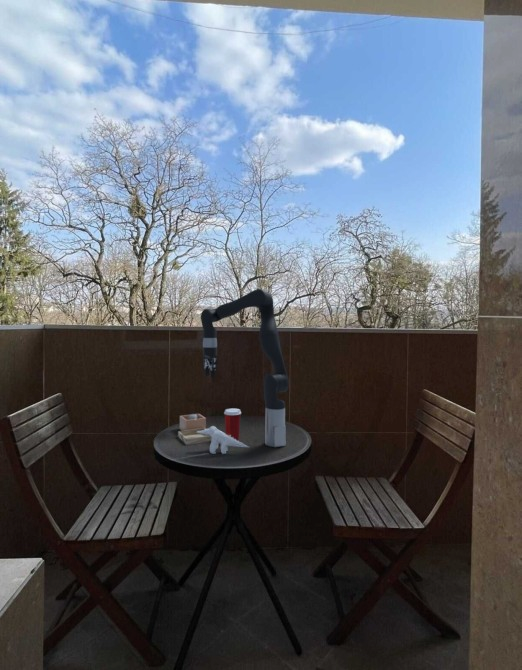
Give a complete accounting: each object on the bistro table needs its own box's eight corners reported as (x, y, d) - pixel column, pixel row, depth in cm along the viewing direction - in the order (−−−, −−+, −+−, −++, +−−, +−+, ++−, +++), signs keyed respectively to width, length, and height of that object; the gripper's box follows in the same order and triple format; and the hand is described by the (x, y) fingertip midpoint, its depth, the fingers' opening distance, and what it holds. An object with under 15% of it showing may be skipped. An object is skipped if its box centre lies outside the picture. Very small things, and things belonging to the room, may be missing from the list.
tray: (215, 442, 170) (215, 435, 170) (186, 447, 163) (186, 439, 163) (204, 434, 182) (204, 427, 182) (177, 438, 176) (177, 431, 176)
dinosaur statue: (197, 446, 161) (199, 422, 161) (249, 454, 159) (252, 429, 159) (192, 452, 155) (195, 426, 154) (247, 459, 152) (250, 434, 152)
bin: (205, 433, 185) (205, 418, 185) (185, 436, 180) (185, 420, 180) (198, 427, 194) (199, 413, 194) (179, 430, 189) (179, 415, 189)
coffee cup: (243, 439, 175) (243, 408, 175) (237, 444, 167) (238, 412, 167) (227, 437, 177) (227, 407, 177) (221, 443, 169) (221, 411, 169)
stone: (198, 423, 186) (198, 415, 186) (190, 424, 184) (190, 416, 184) (195, 421, 190) (195, 413, 190) (187, 422, 188) (187, 414, 187)
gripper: (221, 347, 188) (221, 377, 188) (211, 345, 200) (211, 374, 200) (208, 347, 184) (208, 378, 184) (198, 345, 196) (198, 375, 197)
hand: (209, 376), depth 192 cm, fingers open, 8 cm apart
